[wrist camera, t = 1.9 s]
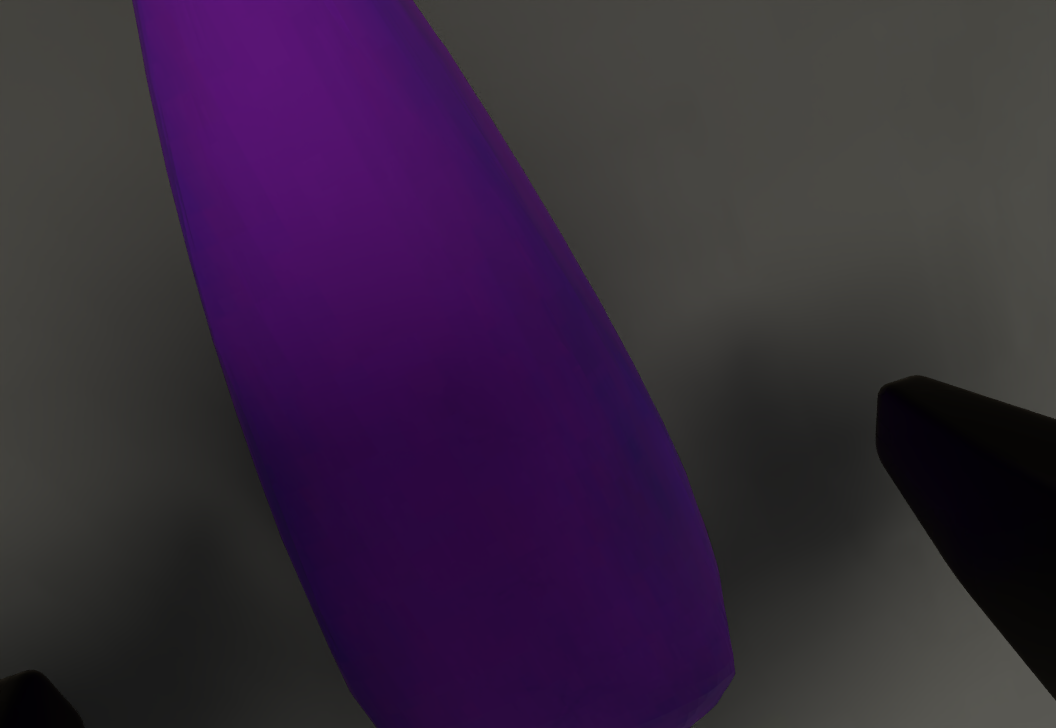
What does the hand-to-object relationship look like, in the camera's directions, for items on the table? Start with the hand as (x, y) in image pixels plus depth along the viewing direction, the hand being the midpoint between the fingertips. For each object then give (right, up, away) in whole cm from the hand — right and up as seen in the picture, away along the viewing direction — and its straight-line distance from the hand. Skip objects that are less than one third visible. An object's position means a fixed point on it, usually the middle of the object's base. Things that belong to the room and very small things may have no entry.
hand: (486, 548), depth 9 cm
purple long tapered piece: (-1, +3, +4) cm, 5 cm away
